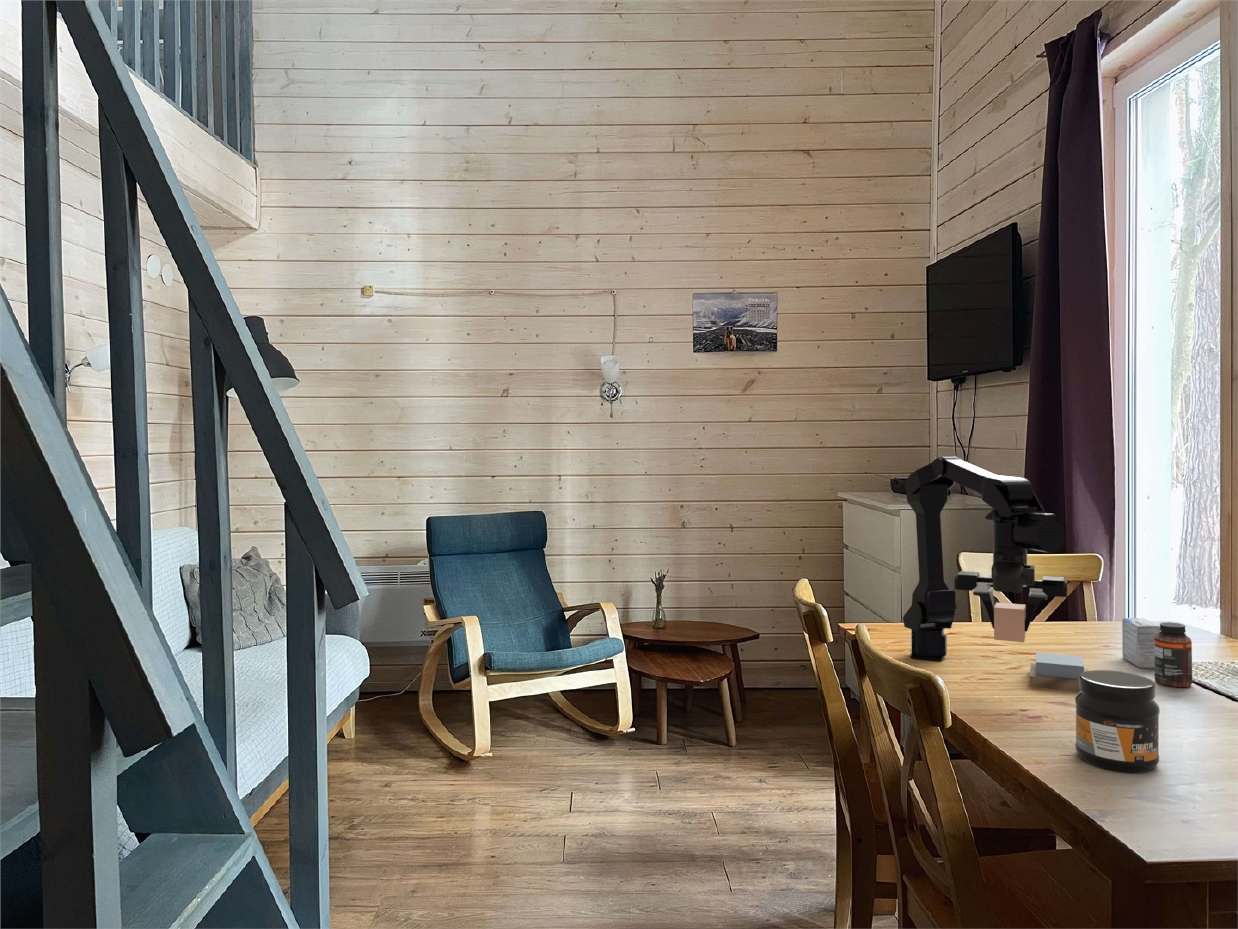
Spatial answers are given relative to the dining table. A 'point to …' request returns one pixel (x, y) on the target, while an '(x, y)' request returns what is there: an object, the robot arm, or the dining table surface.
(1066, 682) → the walnut slab
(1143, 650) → the medicine box
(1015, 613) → the terracotta block
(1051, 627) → the dining table surface
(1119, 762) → the supplement container
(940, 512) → the robot arm
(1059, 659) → the slate slab
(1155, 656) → the supplement bottle
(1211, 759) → the dining table surface
